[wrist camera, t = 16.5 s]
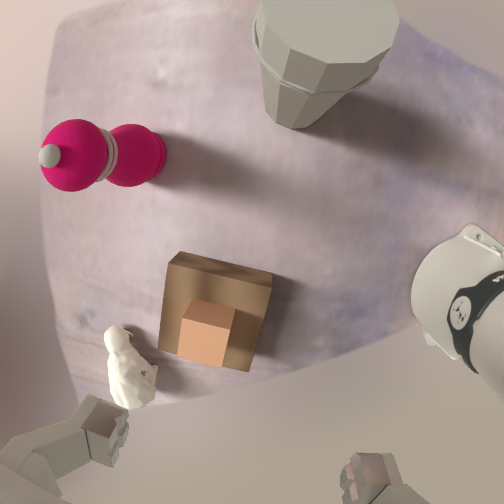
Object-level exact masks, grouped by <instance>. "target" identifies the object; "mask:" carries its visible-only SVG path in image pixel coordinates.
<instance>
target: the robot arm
mask: <svg viewBox="0 0 504 504" xmlns="http://www.w3.org/2000/svg"><path fill="white" fill-rule="evenodd" d="M477 235H478V238H477ZM411 306H412V310H413V313H414V315H415V317H416V319H417V320H418V322H419V323H420V324H421V326H422V328H423V336H424V340H425V342H426V343H427V344H428V345H430V346H437V345H438V346H439V347H440V348H441V349H442V350H443V351H444V352H445V353H447V354H448V355H449V356H450V357H451V358H452V359H454V360H457V359H461V360H462V361H463V363H464V364H465V365H466V366H468V367H469V368H470V369H471V370H472V371H473V372H475V373H477V374H480V375H481V377H482V378H483V379H484V380H485V382H486V383H487V384H488V385H489V387H490V388H491V389H492V390H493V392H494V393H495V394H496V395H497V397H498V398H499V399H500V401H501V402H502V403H503V404H504V246H502V245H501V244H500V243H499V242H497V241H496V240H495V239H494V238H492V237H491V236H490V235H489V234H487V233H486V232H485V231H483V230H482V229H481V228H479V227H478V226H476V225H475V224H469V225H467V226H466V227H465V228H464V229H463V230H462V231H461V232H460V233H459V234H458V235H457V236H456V237H454V238H452V239H449V240H447V241H445V242H443V243H441V244H439V245H438V246H437V247H435V248H434V249H433V250H432V251H431V252H430V253H429V254H428V255H427V256H426V257H425V259H424V260H423V262H422V263H421V265H420V266H419V268H418V270H417V272H416V275H415V277H414V280H413V284H412V289H411ZM128 416H129V415H128V409H126V408H123V407H121V406H118V405H115V404H113V403H110V402H108V401H106V400H103V399H101V398H98V397H96V396H93V395H91V394H89V395H87V396H86V397H85V398H84V399H83V401H82V402H81V404H80V405H79V406H78V408H77V409H76V411H75V412H74V413H73V415H72V416H71V418H70V419H69V420H68V422H67V421H65V420H63V421H61V422H57V423H55V424H52V425H49V426H46V427H43V428H40V429H37V430H34V431H31V432H27V433H25V434H21V435H18V436H15V437H13V438H12V439H11V440H10V441H9V442H8V444H7V445H6V446H5V448H4V449H3V450H2V451H1V453H0V504H71V503H68V502H66V501H65V500H63V499H61V496H62V493H61V491H60V489H59V486H58V484H57V482H56V479H58V478H60V477H62V476H64V475H66V474H68V473H70V472H72V471H73V470H75V469H77V468H79V467H81V466H83V465H84V464H86V463H88V462H90V461H91V460H93V461H96V462H98V463H101V464H104V465H106V466H109V467H112V468H113V467H114V465H115V462H116V460H117V458H118V456H119V448H121V447H123V446H124V444H125V441H126V438H127V435H128V430H129V424H128V422H127V421H126V420H127V418H128ZM350 460H351V463H349V464H347V465H345V467H344V468H343V470H342V472H341V475H340V487H341V488H342V489H343V490H344V491H345V492H344V494H343V496H342V499H343V504H430V503H429V502H428V501H426V500H425V499H424V498H423V497H421V496H420V495H419V494H418V493H417V492H415V491H414V490H413V489H412V488H411V487H409V486H408V485H407V484H403V482H402V479H401V476H400V473H399V470H398V467H397V464H396V461H395V459H394V456H393V455H392V453H380V454H379V453H355V454H353V455H352V457H351V458H350Z"/></svg>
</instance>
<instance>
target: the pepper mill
mask: <svg viewBox="0 0 504 504" xmlns="http://www.w3.org/2000/svg"><path fill="white" fill-rule="evenodd" d="M166 155H167V152H166V147H165V144H164V142H163V140H162V139H161V138H160V137H159V136H158V135H156V134H155V133H153V132H151V131H150V130H149V129H147V128H146V127H144V126H141V125H137V124H126V125H121V126H119V127H117V128H115V129H113V130H111V131H110V132H108V131H107V130H104V129H101V128H98V127H97V126H95V125H94V124H93V123H91V122H89V121H86V120H82V119H73V120H68V121H65V122H62V123H60V124H59V125H57V126H56V127H54V128H53V129H52V130H51V131H50V132H49V134H48V135H47V136H46V138H45V140H44V142H43V144H42V148H41V150H40V152H39V162H40V164H41V169H42V172H43V174H44V176H45V178H46V179H47V181H48V182H49V183H50V184H51V185H52V186H54V187H55V188H57V189H59V190H62V191H69V192H74V191H80V190H83V189H85V188H87V187H89V186H90V185H92V184H93V183H94V182H99V181H102V180H103V179H105V178H106V179H107V180H108V181H110V182H111V183H113V184H116V185H118V186H123V187H132V186H137V185H140V184H142V183H144V182H145V181H147V180H148V179H151V178H153V177H155V176H156V175H157V174H158V173H159V172H160V171H161V170H162V168H163V167H164V164H165V161H166Z"/></svg>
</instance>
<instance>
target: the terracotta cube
mask: <svg viewBox="0 0 504 504" xmlns="http://www.w3.org/2000/svg"><path fill="white" fill-rule="evenodd" d="M234 313H235V309H234V308H230V307H226V306H222V305H218V304H214V303H210V302H206V301H202V300H198V299H194V298H193V300H192V301H191V303H190V305H189V307H188V309H187V310H186V312H185V314H184V316H183V317H182V323H181V330H180V337H179V344H178V351H177V357H181V358H184V359H188V360H192V361H196V362H199V363H203V364H207V365H211V366H215V367H220V368H221V367H222V363H223V359H224V355H225V351H226V347H227V343H228V339H229V334H230V330H231V326H232V321H233V317H234Z"/></svg>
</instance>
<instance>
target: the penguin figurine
mask: <svg viewBox="0 0 504 504" xmlns="http://www.w3.org/2000/svg"><path fill="white" fill-rule="evenodd" d="M128 333H129V334H131V333H132V332H129V331H127V330H125V329H124V328H121V327H119V326H112V327H110V328H109V329H107V331H106V332H105V334H104V341H105V344H106V347H107V349H108V351H109V352H110V355H109V359H108V369H109V372H108V376H109V384H110V392H111V394H112V396H113V398H114V400H115V402H116V404H117V405H118V406H121V407H123V408H126V409H128V410H137V409H141V408H143V407H145V406H146V405H147V404H148V403H149V401H151V400H154V397H155V392H156V388H155V386H154V385H155V381H156V379H155V378H156V373H157V371H158V366H157V365H152V366H151V365H150V364H149V363H148V362H147V361H146V360H145V359H144V358H143V357H141V356H140V355H139V353H138V352H137V351H136V350H135V349H134V348H133V347H132V345H131V344H130V341H129V334H128ZM132 334H133V333H132ZM132 334H131V335H132ZM132 336H133V335H132ZM142 371H146V374H145V376H143V375H142Z"/></svg>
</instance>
